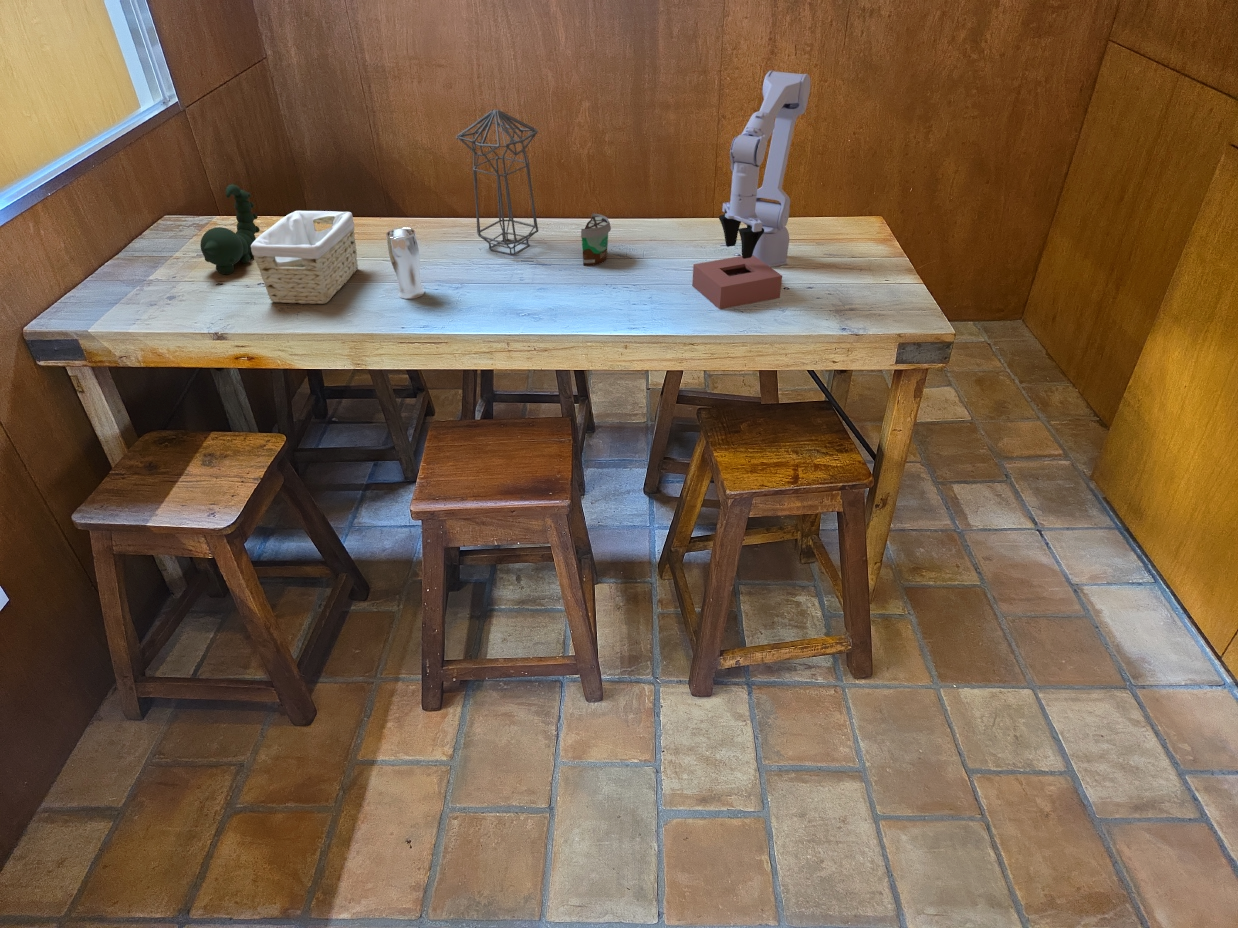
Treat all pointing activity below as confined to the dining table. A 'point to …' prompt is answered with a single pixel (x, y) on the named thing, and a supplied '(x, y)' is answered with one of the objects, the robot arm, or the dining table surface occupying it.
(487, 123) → the geometric lantern
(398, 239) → the beer glass
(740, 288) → the box
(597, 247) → the food container
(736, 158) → the robot arm
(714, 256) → the dining table surface
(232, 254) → the toy figurine
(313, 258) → the storage basket
